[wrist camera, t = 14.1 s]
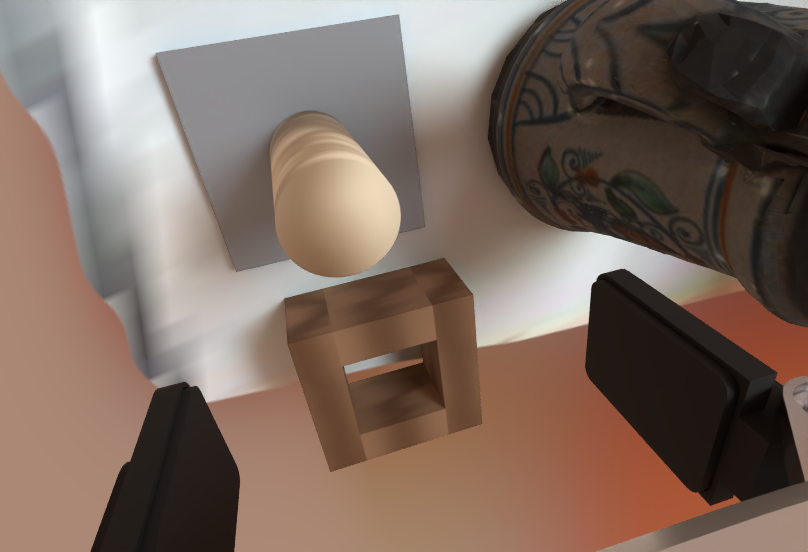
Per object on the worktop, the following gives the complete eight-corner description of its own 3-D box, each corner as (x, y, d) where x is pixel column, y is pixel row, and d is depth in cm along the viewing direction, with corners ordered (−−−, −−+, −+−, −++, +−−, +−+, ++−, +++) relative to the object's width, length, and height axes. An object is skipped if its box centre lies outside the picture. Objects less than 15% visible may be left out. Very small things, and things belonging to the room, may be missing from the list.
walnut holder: (444, 258, 37) (473, 294, 32) (456, 377, 44) (482, 423, 38) (284, 298, 35) (287, 344, 30) (322, 417, 42) (330, 471, 36)
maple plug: (344, 102, 29) (390, 146, 19) (361, 183, 32) (408, 260, 22) (258, 120, 28) (258, 176, 18) (283, 202, 31) (294, 290, 21)
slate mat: (395, 15, 28) (398, 14, 27) (421, 223, 35) (425, 226, 34) (158, 52, 26) (155, 53, 25) (236, 266, 33) (236, 271, 32)
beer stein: (650, 204, 40) (1087, 400, 19) (440, 231, 36) (695, 524, 15) (705, -20, 32) (1565, -119, 11) (444, -18, 28) (1010, -173, 7)
